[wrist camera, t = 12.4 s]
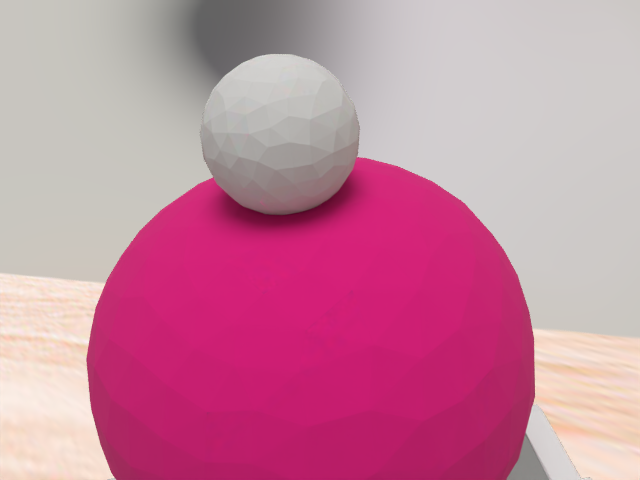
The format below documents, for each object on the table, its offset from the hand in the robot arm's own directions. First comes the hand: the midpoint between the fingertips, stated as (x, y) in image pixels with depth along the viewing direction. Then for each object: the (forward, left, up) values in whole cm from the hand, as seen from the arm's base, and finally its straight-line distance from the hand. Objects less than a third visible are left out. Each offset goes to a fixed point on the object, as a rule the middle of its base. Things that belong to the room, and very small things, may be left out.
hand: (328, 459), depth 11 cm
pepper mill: (0, +1, -12) cm, 12 cm away
